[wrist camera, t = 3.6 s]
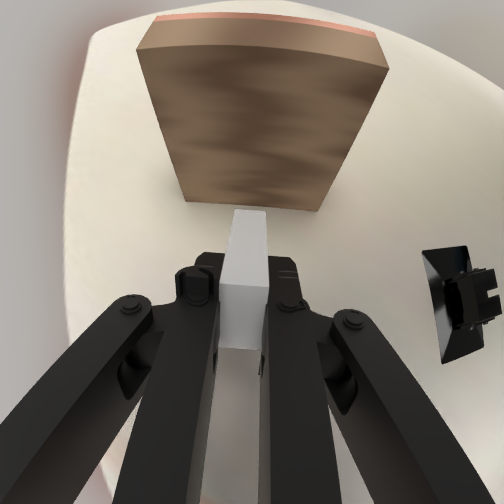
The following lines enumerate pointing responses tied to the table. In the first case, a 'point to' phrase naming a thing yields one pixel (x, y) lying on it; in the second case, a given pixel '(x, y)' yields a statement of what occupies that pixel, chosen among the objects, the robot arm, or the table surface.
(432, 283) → the black notched bracket mount
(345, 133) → the mottled brown tile
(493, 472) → the table surface
